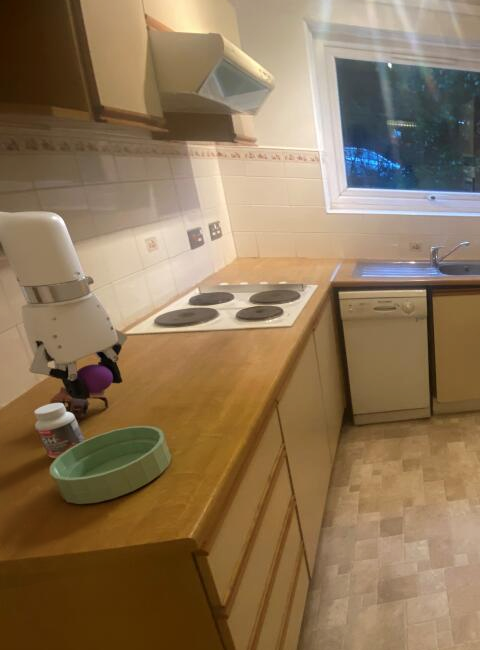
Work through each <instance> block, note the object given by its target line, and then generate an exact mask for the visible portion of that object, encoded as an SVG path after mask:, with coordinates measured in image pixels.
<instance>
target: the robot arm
mask: <svg viewBox="0 0 480 650" xmlns="http://www.w3.org/2000/svg"><path fill="white" fill-rule="evenodd" d="M5 259H7V260H8V262H9V265H10V267H11V269H12V271H13V274H14V276H15V279H16V281H17V283H18V285H19V288H20V290H21V293H22V294H23V297H24V299H25V301H26V304H25V305H21V316H22V323H23V328H24V331H25V334H26V338H27V341H28V344H29V347H30V349H31V352H32V354H33V359H32V361H31V364H30V366H29V370H28V371H29V372H30V373H31V374H38V375H44V376H48V377H52V378H54V379H57V380H61V381H62V384H63V387H65V388H66V391H67V393H68V395H69V396H71V397H72V398H76V399H89V397H90V394H89V392H88V390H87V387H86V385H85V382H84V380H83V378H81V377H77V371H78V367H77V366H78V365H77V361H79V360H81V359H84V358H87V357H89V356H92V355H95V356H96V357H97V358H98V360H99V361H98V362H97V365H102V366H105V367H107V368H108V369H109V370H110V371H111V372H112V374H113V381H112V383H111V384H121V383H123V379H122V376H121V375H122V374H121V372H120V368H119V365H118V363H117V362H118V361H119V360H120V357H119V354H121V353H120V352H121V351H122V349H123V347H122V346H124V344H125V342H126V341H127V339H128V335H127V334H125V333H124V332H121V331H120V330H118V329H116V328H115V326H114V322H113V321H112V319H111V316H110V315H109V313H108V311H107V309H106V308H105V306H104V304H103V302H102V301H101V299H100V298H99V296H98V295H97V294H96V293H95V292H92V291H91V288H90V285H93V284H94V282H95V281H94V279H93V277H91V276H86V275H85V273H84V271H83V268H82V265H81V262H80V260H79V257H78V255H77V251H76V248H75V246H74V243H73V241H72V238H71V236H70V233H69V230H68V228H67V225H66V223H65V221H64V219H63V218H62V217H61V216H60V215H59V214H58V213H55V212H51V211H38V210H35V211H18V212H7V211H0V261H1V260H5ZM50 362H54V363H53V365H54V367H50V366H49V365H48V364H49V363H50Z"/></svg>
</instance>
